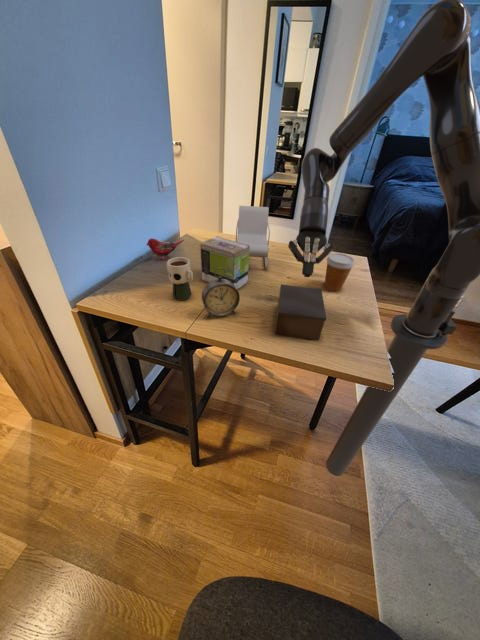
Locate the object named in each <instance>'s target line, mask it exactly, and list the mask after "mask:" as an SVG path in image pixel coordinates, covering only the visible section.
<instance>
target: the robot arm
mask: <svg viewBox="0 0 480 640" xmlns="http://www.w3.org/2000/svg"><path fill="white" fill-rule="evenodd" d="M471 30H472V18H471V13H470V11H469V10H468V8H467V5H466V4H465V3H464V2H463V1H462V0H439V1H437V2H435V4H432V5H431V6H430V7H429V8H428V9H427V10H426V11H425V12H424V13H423V14H422V15H421V17H420V18H419V19H418V21H417V23H416V24H415V25H414V27H413V28H412V29H411V31H410V32H409V34H408V35H407V37H406V38H405V40H404V41H403V42H402V45H400V46H399V49H398V50H397V52H396V53H395V55H394V56H393V58H392V59H391V60H390V62H389V63H388V64H387V66H386V67H385V69H384V70H383V71H382V73H381V74H380V76H379V77H378V78H377V79H376V80H375V82H374V83H373V84H372V85H371V87H370V88H369V90H368V91H367V92H366V93H365V95H364V96H363V97H361V99H360V100H359V101H358V103H357V104H356V105H355V106H354V108H353V109H352V110H351V111H350V112H349V113H348V114H347V115H346V116H345V118H344V119H343V120H342V121H341V122H340V123H339V124H338V126H337V127H336V128H335V129H334V131H333V132H332V133H331V134H330V136H329V138H328V142H329V145H330V148H331V150H332V151H333V153H332V154H331V155H330V154H329V153H327V152H326V151H324V150H323V149H321V148H319V147H313V148H311V149H309V150H308V151H307V152H306V153H305V154H304V157H303V159H302V162H301V169H300V170H301V178H302V184H303V190H304V194H303V201H302V205H301V212H300V217H299V220H300V221H299V227H298V234H297V236H296V237H295V239H294V240H290V241H289V242H288V245H287V247H288V249H289V250H290V252H291V253H292V256H293V257H294V258H295V259H296V261H297V262H298V263H301V264H302V270H301V275H303V277H304V278H310V277H311V276H312V275H313V274H314V269H315V265H316V264H317V265H319V264H320V263H322V261H323V260H325V258H327V257H328V256H329V255H330V254H331V252H332V251H333V250H334V249H335V245H334V244H330V243H329V242H328V238H327V228H328V217H329V200H330V185H329V183H330V181H332V180H334V179H335V177H336V176H337V174H338V172H339V171H340V169H341V168H342V166H343V164H344V163H345V162H346V160H347V158H348V157H349V155H350V154H351V152H353V150H354V149H356V148H357V147H358V145H359V144H360V143H361V142H362V141H363V140H364V139H365V138H366V137H367V136H368V135H369V134H370V133H371V132H372V131H373V129H374V128H375V127H376V126H377V124H378V123H379V122H380V121H381V119H382V118H383V117H384V115H385V114H386V113H387V112H388V110H389V109H390V108H391V107H392V106H393V104H395V102H396V101H397V100H398V99H399V98H400V97H401V96H402V95H403V94H404V93H405V92H406V91H407V90H408V89H409V88H410V87H411V86H412V85H413V84H415V83H416V82H417V81H418V80H419V79H420V78H423V81H424V85H425V89H426V92H427V97H428V103H429V148H430V155H431V160H432V165H433V171H434V174H435V177H436V180H437V184H438V187H439V189H440V192H441V194H442V196H443V199H444V201H445V205H446V212H447V221H448V222H447V223H448V237H447V238H448V245H447V246H446V248H445V249H444V252H443V254H442V255H441V257H440V259H439V260H438V262H437V264H436V265H434V266H433V267H432V269H431V271H430V272H429V275H428V276H427V277H426V280H425V282H424V283H423V285H422V287H421V289H420V291H419V293H418V294H417V296H416V299H415V300H414V301H413V303H412V305H411V307H410V309H409V310H408V313H407V316H406V318H405V319H404V321H403V323H402V326H403V328H404V329H405V330H406V331H407V332H409V333H410V334H412V335H414V336H416V337H419V338H424V339H432V338H434V337H439V336H440V334H442V335H443V336H444V335H447V336H448V335H453V334H454V332H455V331H456V330H457V328H458V325H456V323H455V322H454V321H453V319H452V318H453V317H454V315H455V313H456V310H454V309H455V307H456V306H457V304H458V303H459V302H460V300H461V298H462V297H463V296H464V294H465V293H466V291H467V289H468V288H469V287H470V285H471V284H472V283H473V282H474V281H475V280H477V279H478V278H479V276H480V100H479V98H478V94H477V91H476V87H475V84H474V79H473V71H472V52H471V51H472V50H471V47H472V45H471V44H472V43H471V42H472V41H471V40H472V39H471V38H472V37H471V36H472V34H471V33H472V31H471ZM298 247H299V248H298ZM299 249H300V250H301V251H300V250H299ZM322 249H323V251H322V253H321V254H319V256H318V257H317V253H319V252H320V250H322ZM301 252H302V253H301Z"/></svg>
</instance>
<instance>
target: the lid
mask: <svg viewBox="0 0 480 640" xmlns="http://www.w3.org/2000/svg"><path fill="white" fill-rule="evenodd" d="M279 293H280V300H279V314H278V315H284V316H292V317H299V318H307V319H315V320H322V321H325V322H326V321H327V313H326V307H325V303H324V302H325V301H324V296H323V290H322V288H316V287H308V286H300V285H290V284H282V283H281V284H280V288H279Z"/></svg>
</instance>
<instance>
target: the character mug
mask: <svg viewBox="0 0 480 640" xmlns="http://www.w3.org/2000/svg"><path fill="white" fill-rule="evenodd" d="M191 269H192V268H191V261H190V259H189V258H188V257H183V256H176V257H172V258H170V259H169V258H168V260H167V262H166V270H167V272H168V279H169V281H170V282H171V283H172V297H173V299H176V300H177V301H184V300H187V299H189V298H190V297H191V296H192V289H191V285H190V281H193V280H194V272H193V271H192V270H191Z"/></svg>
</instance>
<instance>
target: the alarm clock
mask: <svg viewBox="0 0 480 640" xmlns="http://www.w3.org/2000/svg"><path fill="white" fill-rule="evenodd" d="M220 268H221V269H223V270H224V271H225V269H224V268H222V267H219V268H217V269H220ZM217 269H216V270H217ZM216 270H215V271H214V275H215V272H216ZM225 273H226V271H225ZM225 273H224V275H225ZM224 275H223V276H224ZM215 276H216V275H215ZM223 276H222V277H223ZM216 277H217V276H216ZM222 277H221V276H218V277H217V278H219V279H215V280H213V281H211V282H207V284H205V286H204V288H203V289H202V293H201V301H202V304H203V307H204V309H205V311H207V313H208V314H207V316H206V318H208V319H209V318H210V316H216V317H223V316H227V315H229V314H231V313H232V314H234V315H235V314H236V312H235V310H236V309H237V307H238V306H239V303H240V298H241V297H240V296H241V295H240V292H239V289H236V287H235V286H234V284H233V283H232V282H230V281H229V280H226V279H221V278H222Z"/></svg>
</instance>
